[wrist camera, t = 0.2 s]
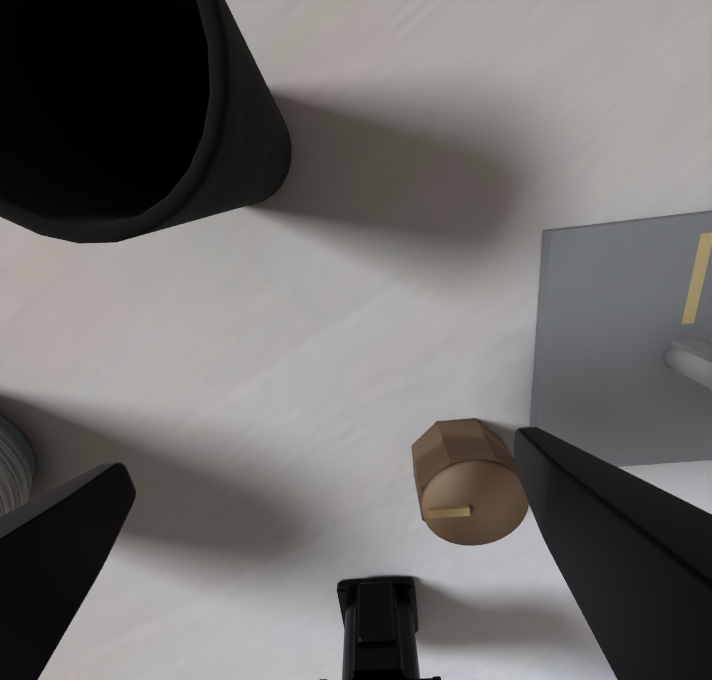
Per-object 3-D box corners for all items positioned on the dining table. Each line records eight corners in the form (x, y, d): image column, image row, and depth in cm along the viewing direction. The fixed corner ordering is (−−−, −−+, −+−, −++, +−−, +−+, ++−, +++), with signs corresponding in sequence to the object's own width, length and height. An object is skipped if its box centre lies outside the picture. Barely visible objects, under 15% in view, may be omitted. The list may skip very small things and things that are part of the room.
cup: (335, 108, 18) (282, -71, 6) (280, 248, 20) (172, 296, 9) (189, 27, 17) (-180, -357, 5) (150, 184, 19) (-159, 147, 8)
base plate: (766, 444, 24) (840, 488, 20) (527, 462, 25) (556, 507, 21) (854, 193, 18) (979, 189, 15) (543, 230, 19) (585, 235, 16)
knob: (502, 415, 24) (534, 464, 19) (499, 487, 26) (528, 546, 21) (410, 423, 24) (420, 472, 19) (415, 494, 26) (425, 552, 22)
